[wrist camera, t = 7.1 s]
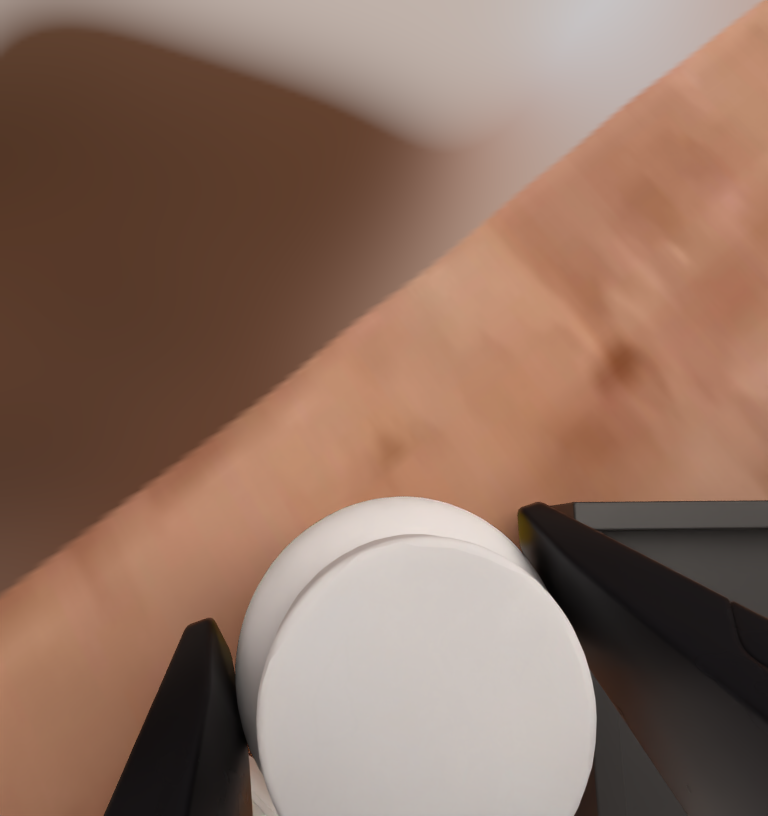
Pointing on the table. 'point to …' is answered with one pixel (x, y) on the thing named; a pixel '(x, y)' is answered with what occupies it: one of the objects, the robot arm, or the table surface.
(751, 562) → the black tray
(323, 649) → the supplement bottle
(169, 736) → the robot arm
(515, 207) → the table surface
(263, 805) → the calculator
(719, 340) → the table surface
